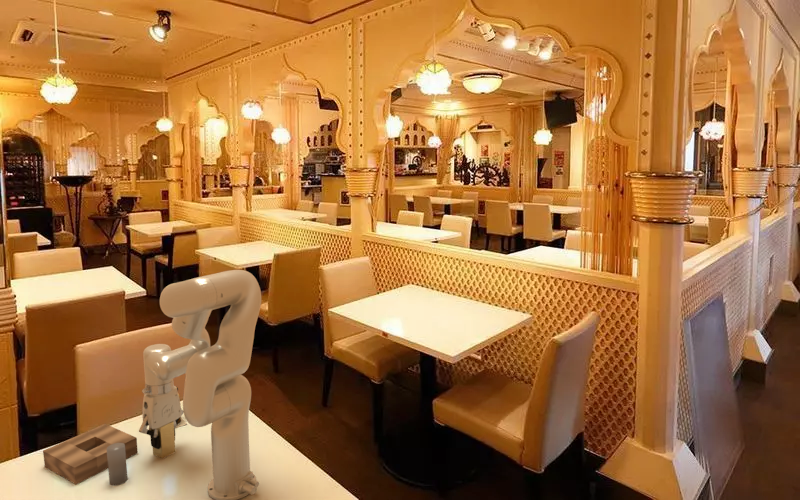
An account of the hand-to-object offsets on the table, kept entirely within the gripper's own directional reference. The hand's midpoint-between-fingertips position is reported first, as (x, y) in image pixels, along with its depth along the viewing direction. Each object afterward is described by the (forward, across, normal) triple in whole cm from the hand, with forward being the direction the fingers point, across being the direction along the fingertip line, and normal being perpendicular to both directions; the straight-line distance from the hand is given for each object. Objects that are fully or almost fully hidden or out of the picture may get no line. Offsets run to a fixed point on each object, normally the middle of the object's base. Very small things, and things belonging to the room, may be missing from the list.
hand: (163, 442), depth 156 cm
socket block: (+3, -13, +15) cm, 20 cm away
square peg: (+3, 0, 0) cm, 3 cm away
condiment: (+4, +13, +14) cm, 19 cm away
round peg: (+3, -15, -1) cm, 15 cm away
